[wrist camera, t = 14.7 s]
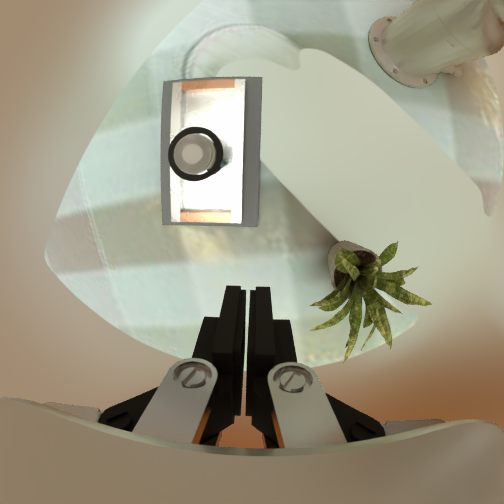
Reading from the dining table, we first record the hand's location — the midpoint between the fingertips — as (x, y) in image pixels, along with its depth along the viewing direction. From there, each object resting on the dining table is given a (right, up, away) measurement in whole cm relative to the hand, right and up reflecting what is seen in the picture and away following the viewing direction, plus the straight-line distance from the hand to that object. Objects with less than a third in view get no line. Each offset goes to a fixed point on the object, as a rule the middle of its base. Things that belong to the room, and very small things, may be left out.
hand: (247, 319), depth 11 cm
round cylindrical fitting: (-5, +15, +22) cm, 27 cm away
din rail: (-5, +16, +22) cm, 27 cm away
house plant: (+12, +2, +28) cm, 31 cm away
